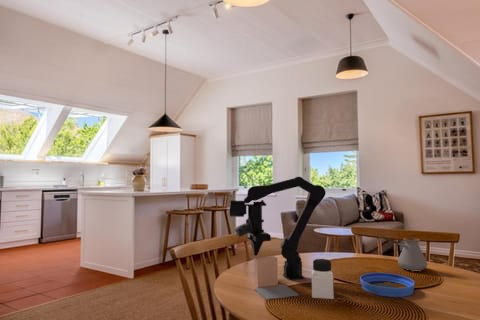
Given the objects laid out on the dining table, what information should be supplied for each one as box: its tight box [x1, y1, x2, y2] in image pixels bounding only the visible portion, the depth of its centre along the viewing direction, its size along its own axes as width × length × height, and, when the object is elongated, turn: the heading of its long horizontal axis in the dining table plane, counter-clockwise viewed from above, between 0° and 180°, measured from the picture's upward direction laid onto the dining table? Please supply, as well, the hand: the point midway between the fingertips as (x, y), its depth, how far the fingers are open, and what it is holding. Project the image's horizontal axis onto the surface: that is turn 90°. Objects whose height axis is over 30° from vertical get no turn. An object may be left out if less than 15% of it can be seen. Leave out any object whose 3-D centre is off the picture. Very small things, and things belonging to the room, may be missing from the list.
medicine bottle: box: [311, 258, 335, 300], centre depth 118 cm, size 7×7×12 cm
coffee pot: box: [378, 235, 428, 270], centre depth 147 cm, size 21×12×15 cm, turn 104°
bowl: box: [359, 272, 416, 298], centre depth 124 cm, size 18×18×4 cm
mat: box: [254, 284, 300, 301], centre depth 121 cm, size 12×11×1 cm
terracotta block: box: [253, 255, 279, 288], centre depth 130 cm, size 8×4×10 cm, turn 108°
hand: (255, 255), depth 141 cm, fingers closed
